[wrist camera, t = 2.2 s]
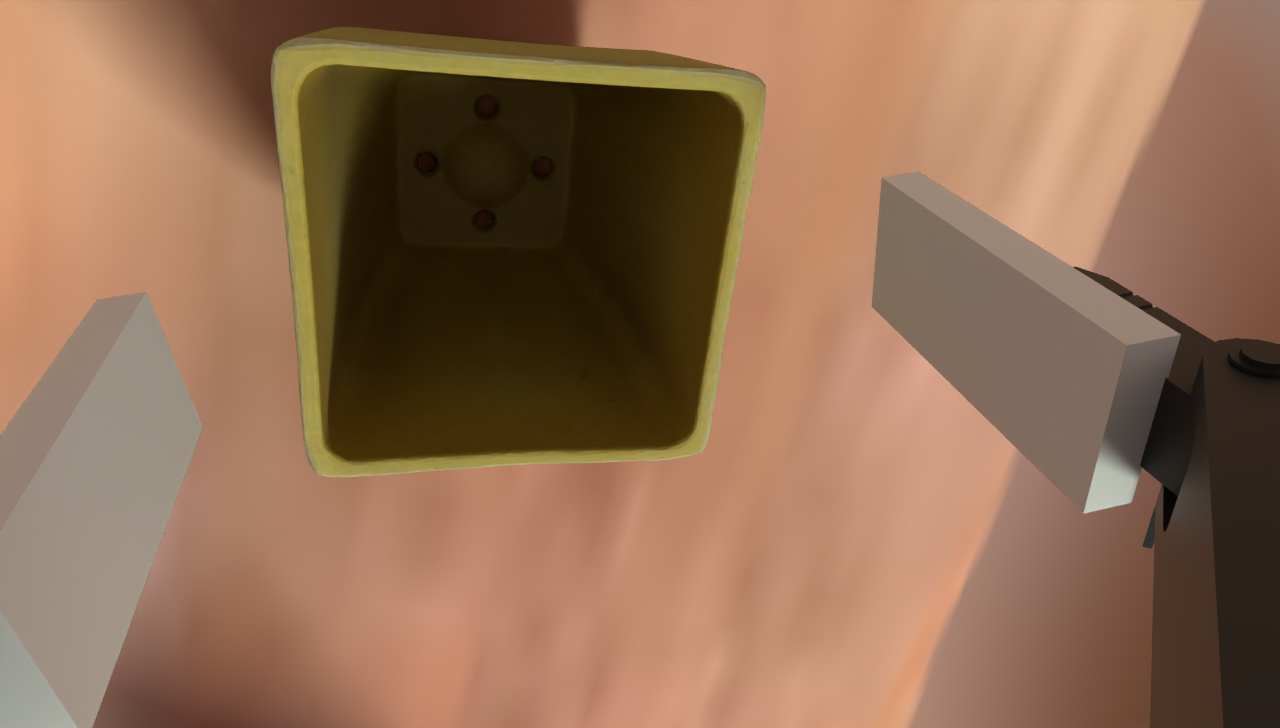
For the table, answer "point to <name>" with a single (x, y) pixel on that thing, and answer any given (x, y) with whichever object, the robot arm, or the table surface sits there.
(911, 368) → the table surface
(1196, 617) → the robot arm
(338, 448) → the flower pot
